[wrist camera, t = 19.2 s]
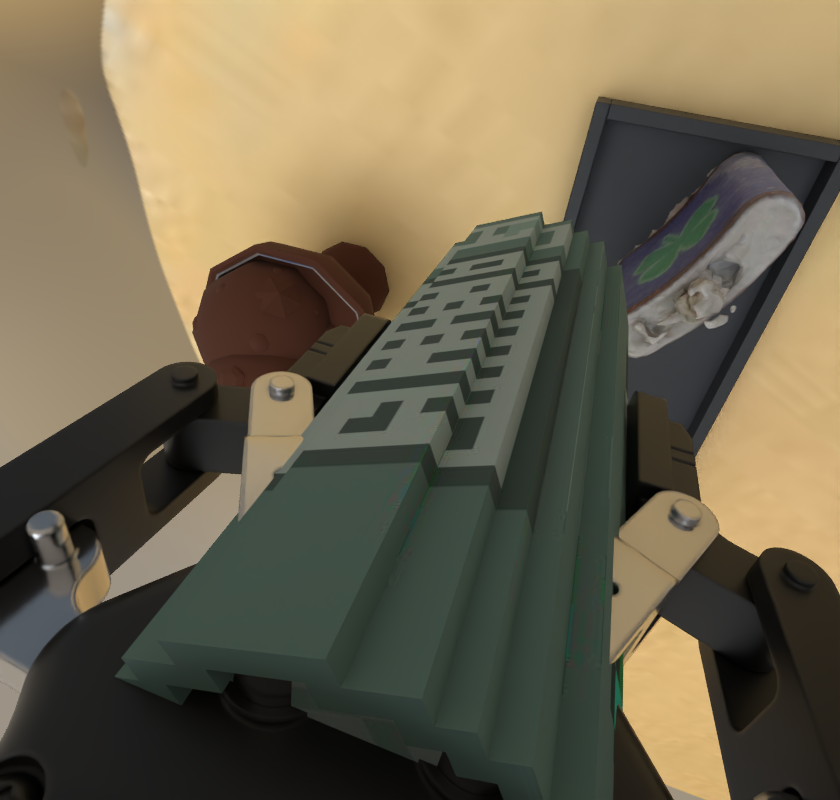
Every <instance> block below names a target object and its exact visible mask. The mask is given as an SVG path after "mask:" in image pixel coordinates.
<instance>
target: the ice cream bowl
mask: <svg viewBox="0 0 840 800" xmlns="http://www.w3.org/2000/svg"><path fill="white" fill-rule="evenodd" d="M388 292H389V288H388V284H387V279H386V274H385V269H384V266H383V265H382V264H381V263H380V262H379V261H378V260H377V259H376V258H375V257H374V256H373V255H372V254H371V253H370V252H369V250H368V249H367V248H365V247H361V246H357V245H353V244H349V243H345V242H341V243H339V244H337V245H335V246H332V247H330V248H328V249H326V250H324V251H323V252H322V254H320V253H316V252H312V251H308V250H304V249H300V248H296V247H292V246H288V245H284V244H280V243H275V242H266V243H261V244H256V245H253V246H251V247H250V248H248V249H246V250H244V251H242V252H240V253H239V254H237V255H235V256H233V257H231V258H229V259H227V260H226V261H224V262H222V263H220V264H218V265H216V266H215V267H213V268H211V269H210V273H209V277H208V281H207V286H206V289H205V290H204V293H203V296H202V300H201V303H200V307H199V310H198V314H197V316H196V317H195V318H194V321H193V332H192V333H193V335H194V338H195V341H196V343H197V346H198V348H199V351H200V354H201V356H202V359H203V361H204V363H205V365H207V366H209V367H211V368H212V369H213V370H214V371H215V372H216V374H217V380H218V385H227V386H239V387H251V386H252V383H253V382H254V381H255V380H256V379H257V378H258V377H260V376H262V375H264V374H267V373H271V372H287V371H288V370H289V369H290V368H291V367H292V366H293V365H294V364H295V362H296V361H297V360H298V359H299V358H300V357H301V356H302V355H303V354H304V353H305V352H306V351H307V350H310V347H311V346H312V345H313V344H314V343H315V342H316V343H317V340H318V339H319V338H320V337H321V336H322V335H323V334H324V333H325V332H326V331H328V330H331V329H333V328H336V327H338V326H340V325H343V326H347V327H350V328H351V326H352V325H353V324H354V323H355V322H356V321H357V320H358V319H359V318H360V317H361V316H362V315H363V314H364V313H366V314H370V315H373V316H375V315H374V312H377V311H379V310H380V309H381V307H382V305H383V303H384V300H385V298H386V296H387V294H388Z"/></svg>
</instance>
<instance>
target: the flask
mask: <svg viewBox="0 0 840 800" xmlns="http://www.w3.org/2000/svg"><path fill="white" fill-rule="evenodd" d="M707 177H708V178H707V180H705V182H704V184H702V185H701V186H700V187H699V188H698V189H697V190H696V191H695V192H694V193H691V195H690V196H689V197H685V198H684V199H683V200H682V202H680V203H679V204H676V206H675V208H674V209H673V210H672V211H670V213H669V216H668V218H667V219H666V222H665V223H664V225H663V226H662V227H661V228H659V229H658V230H652V233H651V234H650V236H649V238H648V239H647V240H646V241H645V242H644V243H643V244H640V245H638V246H637V245H636V246H635V248H634V249H633V250H632V251H631V252H629V253H628V254H627V255H626V256H625V257H624V258H623V259H622V260H620V261H619V262H618V265H622V274H623V282H624V291H625V299H626V308H627V316H628V325H629V338H628V357H631V358H635V359H637V358H640V357H644V356H648V355H650V354H652V353H654V352H656V351H657V350H659V349H661V348H662V347H664V346H666V345H668V344H670V343H672V342H674V341H675V340H677V339H679V338H680V337H682V336H684V335H685V334H687V333H689V332H691V331H692V330H694V329H696V328H697V327H699V326H700V325H702V324H705V326H706V327H707V328H709V329H711V328H716V327H719V326H721V325H724V324H725V323H726V322H727V321H728V316H727V315H719V316H718V317H716V318H715V319H713V320H711V321H707V320H709V319H710V318H711V317H712V316H714V315H716V314H718V313H719V312H720V311H721V310H722V309H723V308H724V307H726V306H727V305H728V304H729V303H731V302H732V301H733V300H734V299H735V298H736V297H737V296H739V295H740V294H741V293H743V292H744V291H745V289H746V288H747V287H748V286H750V285H751V284H752V283H753V282H754V281H755V280H756V279H757V278H758V277H759V276H760V275H761V274H762V273H763V272H764V271H765V270H766V269H767V268H768V266H769V265H771V264H772V263H773V262H774V261H775V260H776V259H777V258H778V257H779V256H780V255H781V254H782V253H783V252H784V251H785V249H786V248H787V247H788V245H789V244H790V243H791V242H792V241H793V240H794V239H795V238H796V236H797V234H798V232H799V231H800V230H801V228H802V226H803V225H804V221H805V212H804V210H803V207H802V204H801V203H800V202H799V200H798V199H797V198H796V197H795V195H794V194H793V193H792V192H791V191H790V190H789V189H788V188H787V187H786V186H785V185H784V184H783V183H782V182H781V181H780V179H779V178H778V177H777V176H776V175H775V173H774V172H773V170H772V169H771V168H770V167H769V166H768V165H767V164H766V162H765V161H764V160H763V158H762V157H761V156H760V155H758V154H756V153H754V152H739V153H736V154H733V155H731V156H730V157H728V158H727V159H726V160H725V161H723V162H722V163H721V164H720V165H718V166H717V167H716V168H714V169H712V170H711V171H710V173H708V175H707ZM618 265H617V266H618ZM736 308H737V307H736V306H735V305H734V306H731V308H730V311H731V312H732V313H733V312H734V311H735V310H736Z"/></svg>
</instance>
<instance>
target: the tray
mask: <svg viewBox="0 0 840 800" xmlns="http://www.w3.org/2000/svg"><path fill="white" fill-rule="evenodd" d="M739 152H754V153H756V154H758V155H760V156H761V157H762V158H763V160H764V161H765V162H766V164H767V165H768V166H769V167H770V168H771V169H772V170H773V172H774V173H775V175H776V176H777V177H778V178H779V179H780V181H781V182H782V183H783V184H784V185H785V186H786V187H787V188H788V189H789V190H790V191H791V192H792V193H793V194H794V195H795V197H796V198H797V199H798V200H799V202H800V203H801V204H802V207H803V210H804V212H805V221H804V225H803V226H802V228H801V230H800V231H799V232H798V234H797V236H796V238H795V239H794V240H793V241H792V242H791V243H790V244H789V245H788V247H787V248H786V249H785V251H784V252H783V253H782V254H781V255H780V256H779V257H778V258H777V259H776V260H775V261H774V262H773V263H772V264H771V265H769V266H768V268H767V269H766V270H765V271H764V272H763V273H762V274H761V275H760V276H759V277H758V278H757V279H756V280H755V281H754V282H753V283H752V284H751V285H750V286H748V287H747V288H746V289H745V291H744V292H743V293H741V294H740V295H739V296H737V297H736V298H735V299H734V300H733V301H732V302H731V303H729V304H728V305H727V306H726V307H724V308H723V309H722V310H721V311H720V312H719V313H718V314H716V315H714V316H712V317H711V318H710V319H709V320H707V321H711V320H713V319H715V318H716V317H718V316H719V315H727V316H728V321H727V322H726V323H725V324H724V325H721V326H719V327H716V328H711V329H709V328H707V327H706V326H705V324H702V325H700V326H699V327H697V328H696V329H694V330H692V331H691V332H689V333H687V334H685V335H684V336H682V337H680V338H679V339H677V340H675V341H674V342H672V343H670V344H668V345H666V346H664V347H662V348H661V349H659V350H657V351H656V352H654V353H652V354H650V355H648V356H644V357H640V358H637V359H635V358H631V357H628V400H627V406H628V403H629V401H630V399H631V397H632V395H633V393H634V392H635V391H639V392H643V393H646V394H650V395H653V396H657V397H660V398H664V399H666V400H667V410H668V420H670V421H673V422H676V423H680V424H682V425H683V426H684V428H685V429H686V431H687V432H688V434H689V435H690V436H691V438H692V441H693V448H694V456H696V454H697V453H698V451H699V449H700V447H701V445H702V443H703V442H704V440H705V438H706V436H707V434H708V432H709V430H710V429H711V427H712V425H713V423H714V421H715V419H716V418H717V416H718V414H719V412H720V410H721V408H722V407H723V405H724V403H725V401H726V399H727V397H728V396H729V394H730V392H731V390H732V388H733V386H734V385H735V383H736V381H737V379H738V377H739V375H740V373H741V372H742V370H743V368H744V366H745V364H746V362H747V361H748V359H749V357H750V355H751V353H752V351H753V350H754V348H755V346H756V344H757V342H758V340H759V339H760V337H761V335H762V333H763V331H764V329H765V328H766V326H767V324H768V322H769V320H770V318H771V316H772V315H773V313H774V311H775V309H776V307H777V305H778V304H779V302H780V300H781V298H782V296H783V294H784V293H785V291H786V289H787V287H788V285H789V283H790V282H791V280H792V278H793V276H794V274H795V272H796V271H797V269H798V267H799V265H800V263H801V261H802V259H803V258H804V256H805V254H806V252H807V250H808V248H809V247H810V245H811V243H812V241H813V239H814V237H815V236H816V234H817V232H818V230H819V228H820V226H821V225H822V223H823V221H824V219H825V217H826V215H827V213H828V212H829V210H830V208H831V206H832V204H833V202H834V201H835V199H836V197H837V195H838V193H839V191H840V140H836V139H831V138H825V137H820V136H814V135H809V134H803V133H797V132H792V131H786V130H781V129H775V128H770V127H764V126H759V125H753V124H748V123H742V122H737V121H731V120H726V119H720V118H715V117H709V116H704V115H698V114H693V113H687V112H682V111H676V110H671V109H665V108H660V107H654V106H649V105H643V104H638V103H632V102H627V101H621V100H616V99H610V98H605V97H598V100H597V102H596V105H595V108H594V112H593V116H592V119H591V123H590V126H589V130H588V134H587V137H586V141H585V145H584V148H583V152H582V155H581V159H580V163H579V166H578V170H577V174H576V177H575V181H574V185H573V188H572V192H571V195H570V199H569V203H568V206H567V210H566V214H565V217H564V221H568V220H572V224H573V231H574V233H577V232H582V231H587V230H588V235H589V242H590V244H591V243H596V242H602V241H604V245H605V253H606V261H607V267H612V266H617V265H618V262H619V261H620V260H622V259H623V258H624V257H625V256H626V255H627V254H628V253H629V252H631V251H632V250H633V249H634V248H635V246H636V245H637V246H638V245H640V244H643V243H644V242H645V241H646V240H647V239H648V238H649V236H650V234H651V233H652V230H658V229H659V228H661V227H662V226H663V225H664V223H665V222H666V219H667V218H668V216H669V213H670V211H672V210H673V209H674V208H675V206H676V204H679V203H680V202H682V200H683V199H684V198H685V197H689V196H690V195H691V193H694V192H695V191H696V190H697V189H698V188H699V187H700V186H701V185H702V184H704V182H705V180H707V178H708V177H707V175H708V173H710V171H711V170H712V169H714V168H716V167H717V166H718V165H720V164H721V163H722V162H723V161H725V160H726V159H727V158H728V157H730V156H731V155H733V154H736V153H739ZM734 305H735V306H736V307H737V308H736V310H735V311H734V312H733V313H732V312H731V311H730V308H731V306H734Z"/></svg>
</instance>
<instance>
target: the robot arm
mask: <svg viewBox="0 0 840 800" xmlns="http://www.w3.org/2000/svg"><path fill="white" fill-rule="evenodd" d="M390 324H391V321H390V320H388V319H384V318H380V317H377V316H373V315H370V314H366V313H364V314H363V315H362V316H361V317H360V318H359V319H358V320H357V321H356V322H355V323H354V324H353V325H352V326H351V328H350V327H347V326H343V325H340V326H338V327H336V328H333V329H331V330H328V331H326V332H325V333H324V334H323V335H322V336H321V337H320V338H319V339H318V340H317V343H316V342H315V343H314V344H313V345H312V346H311V347H310V350H307V351H306V352H305V353H304V354H303V355H302V356H301V357H300V358H299V359H298V360H297V361H296V362H295V364H294V365H293V366H292V367H291V368H290V369H289V370H288V371H287V372H271V373H267V374H264V375H262V376H260V377H258V378H257V379H256V380H255V381H254V382H253V383H252V386H251V387H239V386H227V385H218V380H217V374H216V372H215V371H214V370H213V369H212V368H211V367H209V366H207V365H204V364H201V363H196V362H180V363H174V364H170V365H168V366H165V367H163V368H161V369H159V370H158V371H156V372H155V373H153V374H151V375H150V376H148V377H147V378H145V379H143V380H142V381H140V382H138V383H137V384H135V385H134V386H132V387H130V388H129V389H127V390H126V391H124V392H122V393H120V394H119V395H117V396H116V397H114V398H113V399H111V400H109V401H108V402H106V403H104V404H103V405H101V406H99V407H98V408H96V409H95V410H93V411H91V412H90V413H88V414H86V415H85V416H83V417H82V418H80V419H78V420H77V421H75V422H73V423H72V424H70V425H69V426H67V427H65V428H64V429H62V430H60V431H59V432H57V433H56V434H54V435H52V436H51V437H49V438H47V439H46V440H44V441H43V442H41V443H39V444H38V445H36V446H35V447H33V448H31V449H30V450H28V451H26V452H25V453H23V454H22V455H20V456H18V457H17V458H15V459H13V460H12V461H10V462H9V463H7V464H5V465H4V466H2V467H0V682H2V683H3V684H5V685H7V686H8V687H10V688H11V689H13V690H15V691H16V692H18V693H20V696H19V699H18V702H17V705H16V708H15V711H14V713H13V716H12V718H11V720H10V723H9V725H8V728H7V729H6V731H5V733H4V735H3V737H2V739H1V741H0V800H503V797H502V795H501V792H500V790H499V787H498V784H495V783H490V782H484V781H479V780H474V779H468V778H463V777H458V776H456V774H455V772H454V770H453V768H452V765H451V763H450V761H449V759H448V757H447V754H446V752H442V754H441V757H440V760H439V762H438V765H437V766H435V765H433V764H431V763H428V762H426V761H423V760H421V759H419V761H418V763H417V762H415V761H413V760H410V759H408V758H405V757H403V756H401V755H398V754H396V753H393V752H391V751H389V750H386V749H384V748H381V747H379V746H377V745H374V744H372V743H369V742H367V741H364V740H362V739H360V738H357V737H355V736H352V735H350V734H348V733H345V732H343V731H340V730H338V729H336V728H333V727H331V726H328V725H326V724H323V723H321V722H319V721H316V720H314V719H311V718H309V717H307V712H305V711H302V710H300V709H298V708H295V707H293V706H291V693H292V681H287V680H279V679H272V678H265V677H257V676H250V675H243V674H236V673H234V675H233V682H232V681H229V683H228V684H227V686H226V688H225V689H224V691H223V693H216V692H209V691H203V690H197V689H192V691H191V692H190V694H189V695H188V697H187V698H186V700H185V701H184V703H183V704H182V705H179V704H177V703H175V702H172V701H170V700H168V699H165V698H163V697H161V696H158V695H156V694H154V693H151V692H149V691H147V690H144V689H142V688H140V687H137V686H135V685H132V684H130V683H128V682H125V681H123V680H121V679H118V678H116V677H115V675H116V674H117V673H118V672H119V670H120V669H121V668H122V667H123V665H124V664H125V662H124V661H123V659H122V656H123V655H124V654H125V653H126V651H127V650H128V649H129V648H130V646H131V645H132V644H133V643H134V641H135V640H136V639H137V638H138V636H139V635H140V634H141V633H142V632H143V630H144V629H145V628H146V627H147V625H148V624H149V623H150V622H151V620H152V619H153V618H154V617H155V615H156V614H157V613H158V612H159V610H160V609H161V608H162V607H163V605H164V604H165V603H166V602H167V601H168V599H169V598H170V597H171V596H172V594H173V593H174V592H175V591H176V589H177V588H178V587H179V586H180V584H181V583H182V582H183V581H184V579H185V578H186V577H187V576H188V574H189V573H190V572H191V571H192V570H193V568H194V567H195V566H196V565H197V564H195V565H192V566H190V567H187V568H185V569H182V570H180V571H178V572H175V573H173V574H170V575H168V576H165V577H163V578H160V579H158V580H156V581H153V582H151V583H148V584H146V585H144V586H141V587H139V588H136V589H134V590H131V591H129V592H127V593H124V594H122V595H119V596H117V597H114V598H112V599H109V600H107V601H104V602H102V601H103V600H104V599H105V597H106V595H107V594H108V592H109V589H110V585H111V578H110V575H111V574H112V573H113V572H114V571H115V570H116V569H118V568H119V567H120V566H121V565H122V564H123V563H124V562H125V561H126V560H127V559H128V558H130V557H131V556H132V555H133V554H134V553H135V552H136V551H137V550H138V549H139V548H141V547H142V546H143V545H144V544H145V543H146V542H147V541H148V540H149V539H150V538H152V537H153V536H154V535H155V534H156V533H157V532H158V531H159V530H160V529H161V528H162V527H164V526H165V525H166V524H167V523H168V522H169V521H170V520H171V519H172V518H174V517H175V516H176V515H177V514H178V513H179V512H180V511H181V510H182V509H183V508H184V507H186V506H187V505H188V504H189V503H190V502H191V501H192V500H193V499H194V498H195V497H197V496H198V495H199V494H200V493H201V492H202V491H203V490H204V489H205V488H206V487H207V486H209V485H210V484H211V483H212V482H213V481H214V480H215V479H216V478H217V477H218V476H219V475H220V474H221V473H231V474H242V475H241V488H240V500H239V513H238V522H239V521H240V520H241V518H242V517H243V516H244V515H245V513H246V512H247V511H248V510H249V508H250V507H251V506H252V504H253V503H254V502H255V501H256V499H257V498H258V497H259V496H260V494H261V493H262V492H263V491H264V489H265V488H266V487H267V486H268V484H269V483H270V482H271V481H272V479H273V478H274V474H275V472H277V471H278V470H280V469H281V468H282V467H283V465H284V464H285V463H286V462H287V460H288V459H289V458H290V457H291V455H292V454H293V453H294V452H295V450H296V449H297V448H298V447H299V445H300V444H301V443H302V441H303V437H302V436H301V434H302V433H303V432H304V431H305V429H306V428H307V427H308V426H309V424H310V423H311V422H312V421H313V419H314V418H315V417H316V416H317V415H318V413H319V412H320V411H321V410H322V408H323V407H324V406H325V405H326V403H327V402H328V401H329V400H330V398H331V397H332V396H333V395H334V393H335V392H336V391H337V390H338V388H339V387H340V386H341V385H342V384H343V382H344V381H345V380H346V379H347V377H348V376H349V375H350V374H351V372H352V371H353V370H354V369H355V367H356V366H357V365H358V364H359V362H360V361H361V360H362V359H363V357H364V356H365V355H366V354H367V353H368V351H369V350H370V349H371V348H372V346H373V345H374V344H375V343H376V341H377V340H378V339H379V338H380V336H381V335H382V334H383V333H384V331H385V330H386V329H387V328H388V326H389V325H390ZM162 444H163V445H164V448H163V449H162V450H161V451H159V452H158V453H157V454H156V455H154V456H153V457H152V458H150V459H149V460H148V461H147V462H145V463H144V461H145V459H146V458H147V456H148V455H149V454H150V453H151V452H153V451H154V450H155V449H157V448H158V447H159V446H161V445H162ZM143 463H144V464H143ZM695 465H696V462H695V456H694V448H693V441H692V438H691V436H690V435H689V434H688V432H687V431H686V429H685V428H684V426H683V425H682V424H680V423H676V422H673V421H670V420H668V410H667V400H666V399H664V398H660V397H657V396H653V395H650V394H646V393H643V392H639V391H635V392H634V393H633V395H632V397H631V399H630V401H629V403H628V406H627V463H626V523H625V524H624V525H623V526H621V527H620V528H619V537H618V536H617V535H616V534H615V537H614V557H613V588H614V595H612V611H611V638H610V664H612V663H614V662H615V661H616V660H617V659H618V658H619V657H620V655H621V654H622V653H623V666H624V665H625V663H626V662H627V661H628V660H629V658H630V657H631V656H632V655H633V653H634V652H635V651H636V649H637V648H638V647H639V646H640V644H641V643H642V642H643V641H644V639H645V638H646V637H647V635H648V634H649V633H650V632H651V630H652V629H653V628H654V627H655V625H656V624H657V623H658V621H659V620H660V619H661V618H662V617H663V618H664V619H666V620H668V621H669V622H671V623H672V624H674V625H676V626H677V627H679V628H680V629H682V630H683V631H685V632H687V633H688V634H690V635H691V636H693V637H694V638H696V639H698V640H699V641H698V643H699V649H700V654H701V659H702V664H703V668H704V673H705V678H706V683H707V687H708V692H709V697H710V702H711V707H712V711H713V716H714V721H715V726H716V730H717V735H718V740H719V745H720V749H721V754H722V759H723V764H724V769H725V773H726V778H727V783H728V788H729V792H730V797H731V800H840V595H839V592H838V590H837V588H836V586H835V584H834V583H833V581H832V579H831V578H830V577H829V576H828V574H827V573H826V572H825V571H824V570H823V569H822V568H821V567H819V566H818V565H817V564H816V563H814V562H813V561H812V560H810V559H808V558H807V557H805V556H803V555H801V554H799V553H797V552H795V551H792V550H789V549H784V548H776V547H775V548H769V549H766V550H765V551H763V552H762V554H761V555H760V556H759V557H757V556H755V555H753V554H751V553H750V552H748V551H746V550H744V549H742V548H740V547H739V546H737V545H735V544H733V543H732V542H730V541H728V540H727V539H726V538H724V537H723V536H721V535H720V534H719V523H718V520H717V518H716V517H715V515H714V514H713V512H712V511H711V510H710V509H709V508H708V507H707V506H706V505H704V504H703V503H702V502H701V498H700V491H699V484H698V477H697V470H696V467H695ZM610 664H609V665H610ZM613 800H674V799H673V798H672V796H671V794H670V793H669V791H668V789H667V787H666V785H665V784H664V782H663V780H662V779H661V777H660V775H659V773H658V772H657V770H656V768H655V766H654V765H653V763H652V761H651V759H650V758H649V756H648V754H647V753H646V751H645V749H644V747H643V746H642V744H641V742H640V740H639V739H638V737H637V735H636V733H635V732H634V730H633V728H632V726H631V725H630V723H629V721H628V720H627V718H626V716H625V714H624V713H623V711H622V709H621V707H620V706H619V704H618V705H617V710H616V722H615V745H614V783H613Z"/></svg>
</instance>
